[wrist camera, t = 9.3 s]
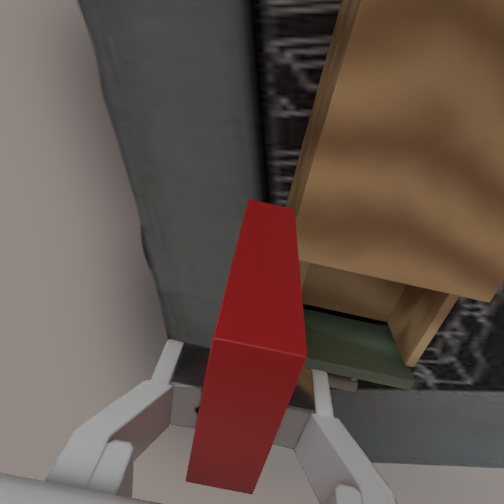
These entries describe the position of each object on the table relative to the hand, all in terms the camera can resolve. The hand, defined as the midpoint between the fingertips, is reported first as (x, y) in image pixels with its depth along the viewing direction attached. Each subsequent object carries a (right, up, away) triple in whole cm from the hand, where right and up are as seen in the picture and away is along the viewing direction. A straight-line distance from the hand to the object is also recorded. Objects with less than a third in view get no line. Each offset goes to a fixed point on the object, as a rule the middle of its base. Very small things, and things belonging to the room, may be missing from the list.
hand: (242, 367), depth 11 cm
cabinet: (+12, +13, +16) cm, 23 cm away
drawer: (+9, +1, +21) cm, 23 cm away
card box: (+1, +3, +6) cm, 7 cm away
